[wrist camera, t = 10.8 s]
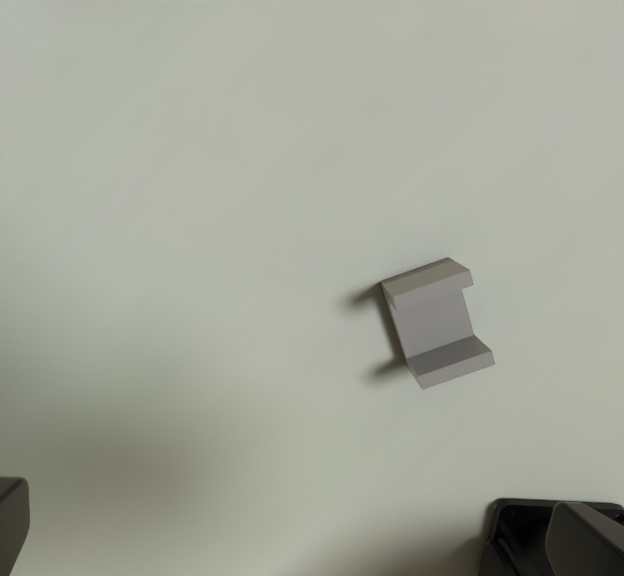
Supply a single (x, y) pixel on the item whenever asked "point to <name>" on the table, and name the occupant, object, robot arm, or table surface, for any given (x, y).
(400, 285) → the clip
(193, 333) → the table surface
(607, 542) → the robot arm
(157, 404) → the table surface
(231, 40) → the table surface
